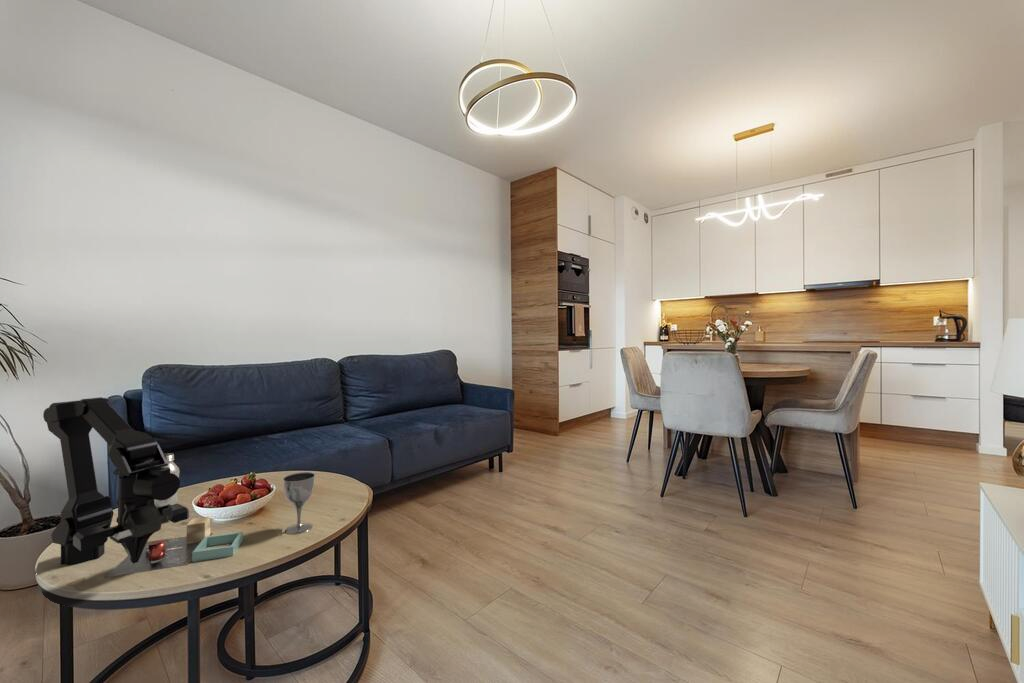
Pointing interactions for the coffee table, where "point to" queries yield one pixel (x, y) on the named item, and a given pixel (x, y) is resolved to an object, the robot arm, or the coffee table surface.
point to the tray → (213, 553)
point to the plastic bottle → (173, 470)
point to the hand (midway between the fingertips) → (134, 562)
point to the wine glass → (298, 497)
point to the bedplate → (174, 557)
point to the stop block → (198, 530)
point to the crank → (156, 551)
